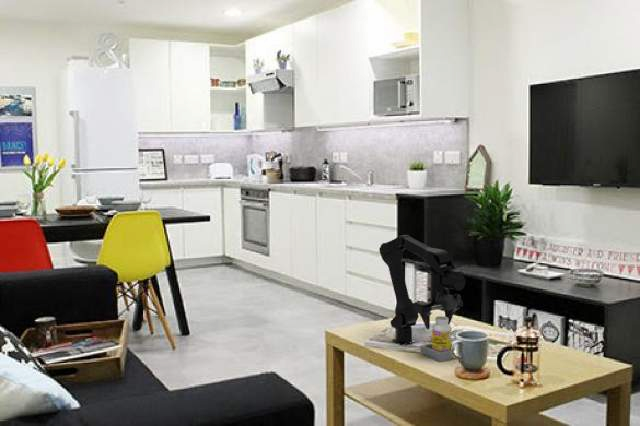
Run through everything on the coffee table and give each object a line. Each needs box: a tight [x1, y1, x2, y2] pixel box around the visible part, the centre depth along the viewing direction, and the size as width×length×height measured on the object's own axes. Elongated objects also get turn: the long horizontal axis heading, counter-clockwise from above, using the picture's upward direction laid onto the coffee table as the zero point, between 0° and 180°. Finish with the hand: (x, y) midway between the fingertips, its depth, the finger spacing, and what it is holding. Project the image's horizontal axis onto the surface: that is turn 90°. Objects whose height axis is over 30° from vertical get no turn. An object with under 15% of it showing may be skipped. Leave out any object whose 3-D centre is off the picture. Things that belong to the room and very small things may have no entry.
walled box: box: [419, 343, 456, 363], centre depth 246 cm, size 11×11×3 cm
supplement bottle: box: [431, 315, 452, 353], centre depth 245 cm, size 7×7×13 cm
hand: (437, 327), depth 247 cm, fingers open, 9 cm apart
